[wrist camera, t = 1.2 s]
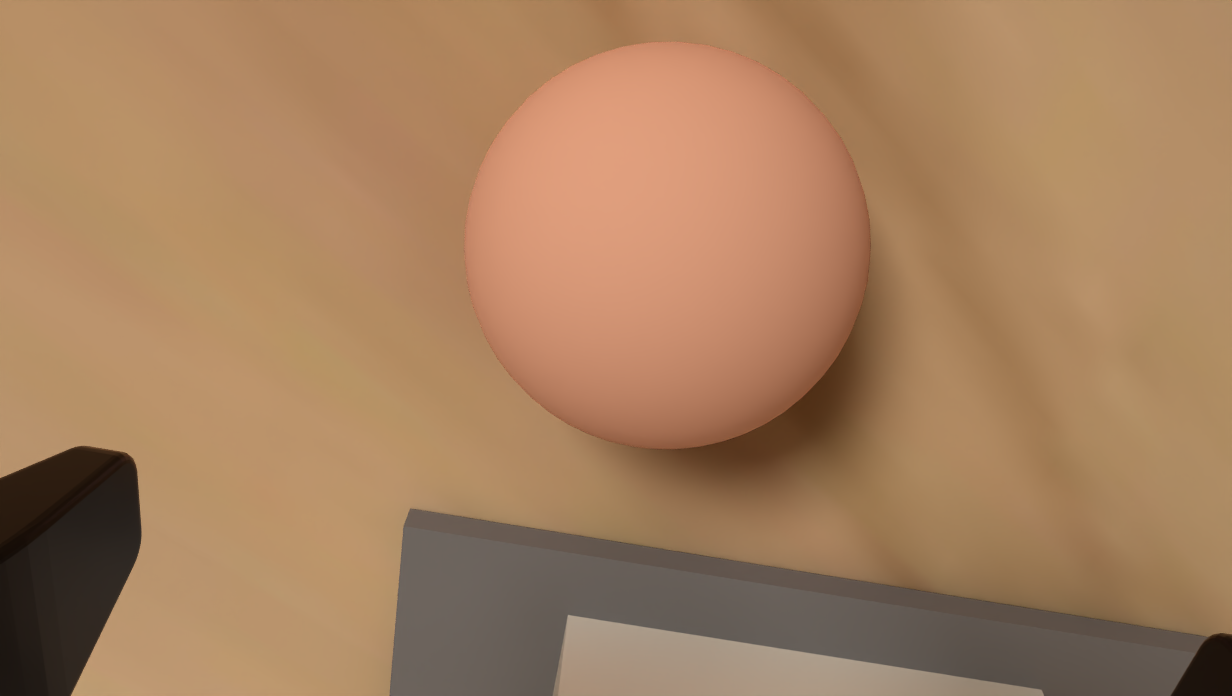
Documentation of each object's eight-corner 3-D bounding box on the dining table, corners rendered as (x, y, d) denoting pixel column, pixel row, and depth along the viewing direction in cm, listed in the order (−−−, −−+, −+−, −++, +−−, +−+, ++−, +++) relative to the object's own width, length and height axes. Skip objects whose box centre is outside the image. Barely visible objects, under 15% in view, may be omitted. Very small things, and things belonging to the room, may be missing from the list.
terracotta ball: (879, 44, 16) (981, 150, 11) (789, 359, 19) (837, 564, 14) (518, -22, 16) (445, 54, 11) (480, 307, 19) (409, 495, 14)
